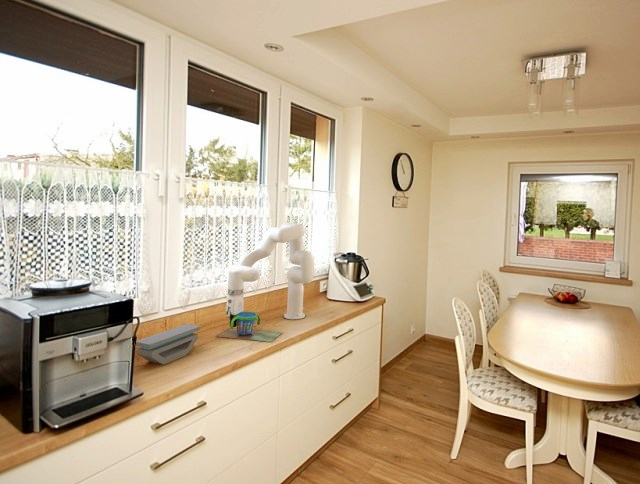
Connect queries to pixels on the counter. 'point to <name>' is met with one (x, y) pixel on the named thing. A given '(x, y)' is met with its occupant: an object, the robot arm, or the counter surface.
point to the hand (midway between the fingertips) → (233, 326)
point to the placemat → (250, 335)
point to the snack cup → (245, 322)
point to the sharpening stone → (168, 344)
